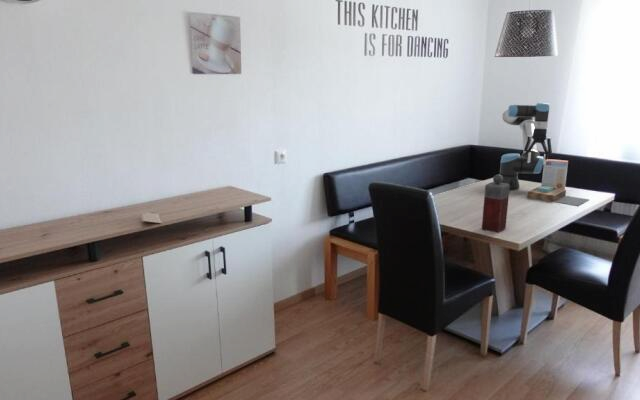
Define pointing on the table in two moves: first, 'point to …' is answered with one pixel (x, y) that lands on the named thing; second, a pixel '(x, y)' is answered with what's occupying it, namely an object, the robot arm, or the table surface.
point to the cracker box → (555, 173)
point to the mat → (571, 200)
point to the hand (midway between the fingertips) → (536, 163)
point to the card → (545, 188)
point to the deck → (547, 194)
